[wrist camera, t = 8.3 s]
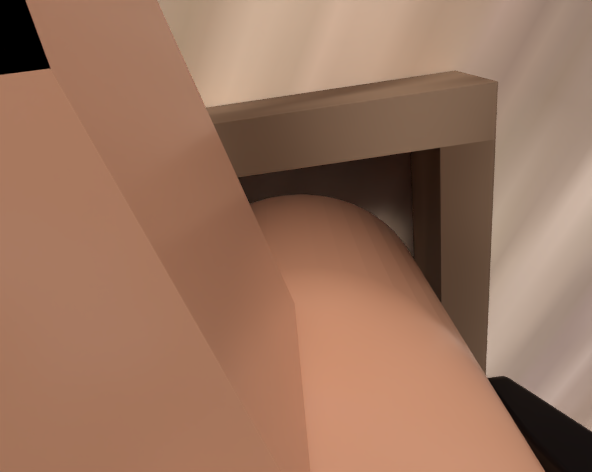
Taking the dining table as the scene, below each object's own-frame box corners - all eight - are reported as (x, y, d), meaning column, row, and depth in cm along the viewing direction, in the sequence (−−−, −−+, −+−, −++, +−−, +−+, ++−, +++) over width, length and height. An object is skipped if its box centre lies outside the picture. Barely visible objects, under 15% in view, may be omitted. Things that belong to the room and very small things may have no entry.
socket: (455, 70, 12) (497, 81, 10) (453, 364, 16) (483, 419, 14) (86, 125, 12) (45, 149, 10) (175, 404, 16) (161, 466, 14)
